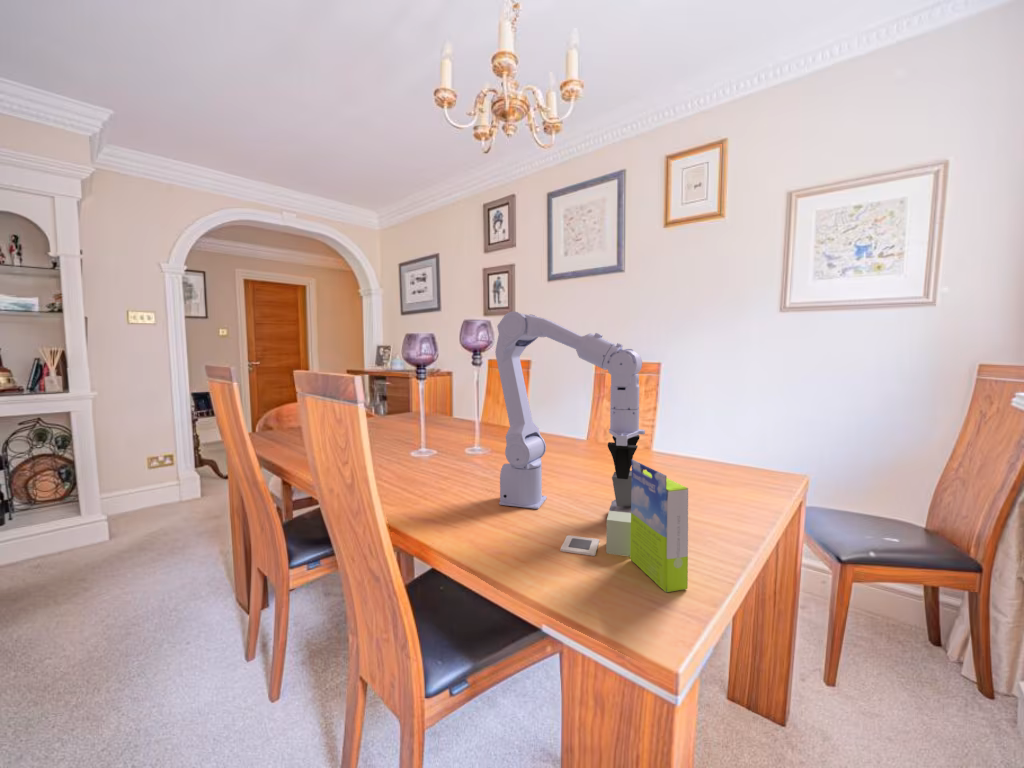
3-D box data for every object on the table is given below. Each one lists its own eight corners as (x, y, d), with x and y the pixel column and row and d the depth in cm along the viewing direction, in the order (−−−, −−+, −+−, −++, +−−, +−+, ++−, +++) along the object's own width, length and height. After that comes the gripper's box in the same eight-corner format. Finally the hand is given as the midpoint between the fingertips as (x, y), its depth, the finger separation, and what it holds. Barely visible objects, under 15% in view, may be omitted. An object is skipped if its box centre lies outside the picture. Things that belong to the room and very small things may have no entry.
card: (560, 551, 74) (560, 548, 74) (567, 537, 80) (567, 534, 80) (594, 556, 72) (594, 553, 72) (599, 541, 78) (599, 538, 78)
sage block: (606, 553, 73) (606, 519, 73) (609, 542, 78) (609, 510, 77) (633, 557, 72) (633, 522, 72) (634, 545, 76) (634, 513, 76)
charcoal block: (616, 506, 86) (611, 477, 86) (619, 499, 91) (614, 471, 91) (639, 505, 85) (634, 475, 85) (640, 498, 89) (635, 470, 89)
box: (689, 590, 62) (691, 473, 60) (664, 594, 61) (665, 475, 60) (649, 557, 72) (650, 456, 71) (627, 559, 71) (628, 458, 70)
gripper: (643, 413, 79) (643, 485, 79) (646, 404, 92) (645, 466, 93) (605, 412, 81) (604, 481, 82) (612, 403, 94) (612, 463, 95)
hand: (624, 473), depth 88 cm, fingers open, 7 cm apart
